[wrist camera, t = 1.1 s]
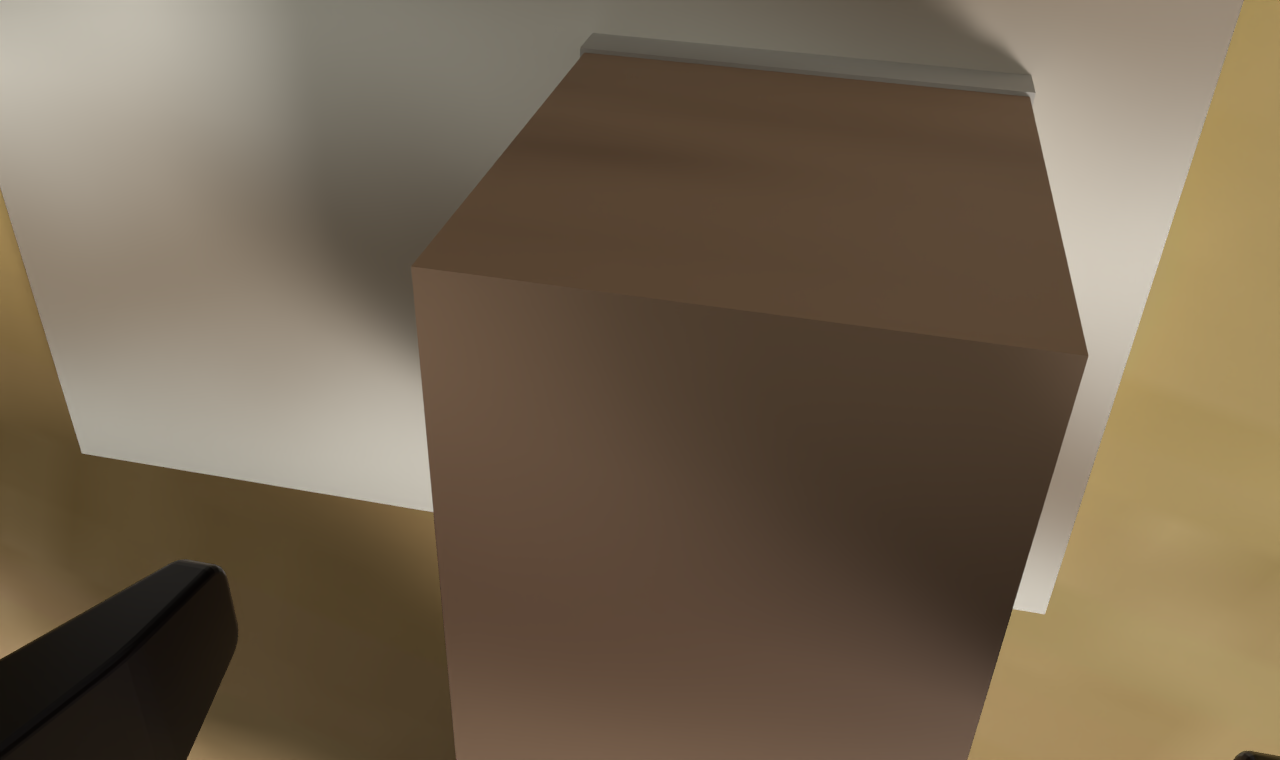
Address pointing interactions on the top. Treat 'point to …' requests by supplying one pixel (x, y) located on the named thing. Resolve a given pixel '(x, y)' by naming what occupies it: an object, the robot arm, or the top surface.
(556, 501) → the block
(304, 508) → the top surface
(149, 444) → the birch board
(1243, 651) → the top surface
